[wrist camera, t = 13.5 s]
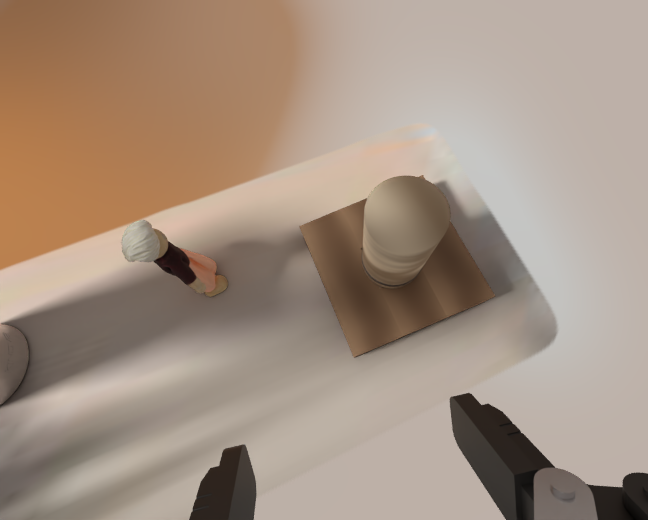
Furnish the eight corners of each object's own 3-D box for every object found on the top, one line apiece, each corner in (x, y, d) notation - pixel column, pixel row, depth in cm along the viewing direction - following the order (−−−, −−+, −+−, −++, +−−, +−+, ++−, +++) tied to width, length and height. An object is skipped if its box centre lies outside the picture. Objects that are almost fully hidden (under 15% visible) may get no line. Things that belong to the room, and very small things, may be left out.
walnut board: (354, 357, 32) (353, 357, 29) (303, 237, 36) (299, 226, 33) (483, 302, 32) (495, 296, 29) (417, 189, 37) (422, 175, 34)
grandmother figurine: (243, 278, 36) (184, 235, 24) (222, 308, 35) (151, 279, 23) (190, 246, 37) (111, 191, 25) (169, 274, 37) (77, 231, 25)
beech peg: (375, 303, 33) (386, 266, 20) (352, 254, 35) (349, 194, 22) (426, 281, 33) (467, 232, 21) (401, 234, 35) (425, 163, 22)
